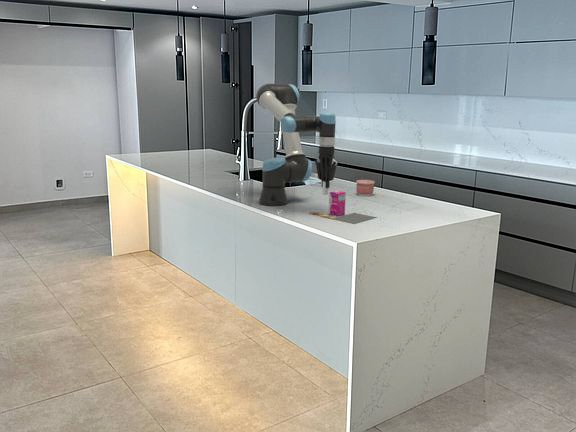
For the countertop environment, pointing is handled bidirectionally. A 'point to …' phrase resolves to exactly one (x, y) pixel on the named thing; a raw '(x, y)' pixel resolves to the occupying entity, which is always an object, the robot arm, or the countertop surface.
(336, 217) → the turner
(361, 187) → the container
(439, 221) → the countertop surface
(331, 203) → the supplement box
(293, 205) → the countertop surface
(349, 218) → the mat
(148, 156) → the countertop surface
